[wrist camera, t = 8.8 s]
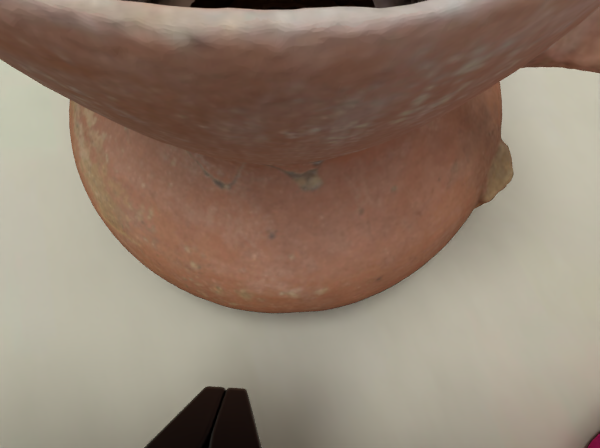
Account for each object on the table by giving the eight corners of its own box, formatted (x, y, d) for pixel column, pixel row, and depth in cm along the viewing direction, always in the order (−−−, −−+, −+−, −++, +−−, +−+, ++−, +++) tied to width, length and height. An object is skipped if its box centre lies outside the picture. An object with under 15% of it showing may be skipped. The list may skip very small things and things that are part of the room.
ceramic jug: (541, 88, 19) (1158, -585, 5) (404, 410, 15) (1193, 866, 2) (184, -63, 21) (-25, -800, 8) (-5, 187, 18) (-1013, -349, 4)
